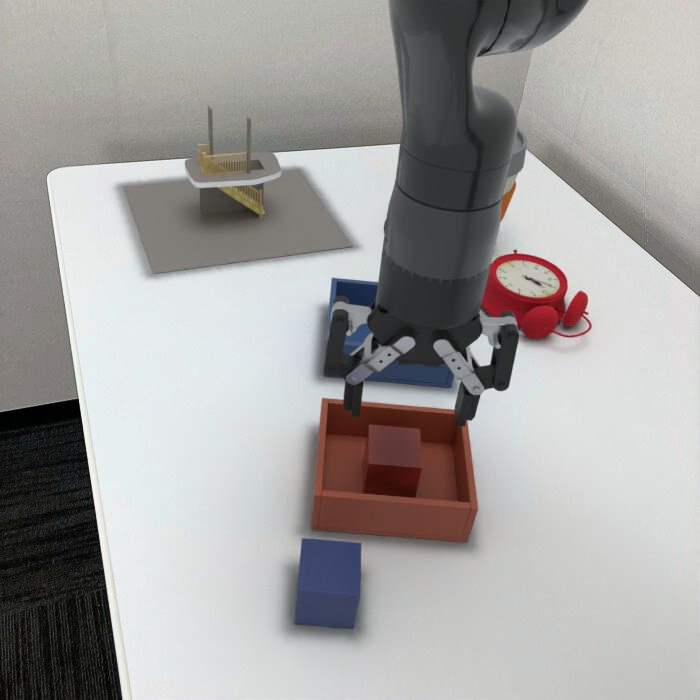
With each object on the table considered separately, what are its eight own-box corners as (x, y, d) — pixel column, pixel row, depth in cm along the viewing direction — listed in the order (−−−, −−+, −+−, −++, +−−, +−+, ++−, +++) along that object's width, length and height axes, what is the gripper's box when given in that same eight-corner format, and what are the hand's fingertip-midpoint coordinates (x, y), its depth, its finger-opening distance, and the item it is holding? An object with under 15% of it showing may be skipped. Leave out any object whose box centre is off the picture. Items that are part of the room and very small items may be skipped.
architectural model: (352, 246, 98) (364, 142, 89) (153, 273, 89) (143, 161, 80) (299, 168, 112) (304, 72, 103) (122, 186, 104) (112, 83, 95)
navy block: (355, 576, 61) (361, 542, 58) (354, 628, 58) (360, 595, 55) (298, 572, 61) (301, 537, 58) (293, 624, 58) (297, 590, 55)
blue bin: (444, 320, 88) (451, 288, 85) (451, 388, 79) (459, 354, 76) (328, 309, 87) (331, 277, 84) (323, 376, 79) (326, 342, 76)
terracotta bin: (457, 444, 73) (466, 410, 70) (467, 542, 65) (478, 508, 62) (318, 431, 73) (322, 397, 70) (310, 529, 64) (314, 494, 61)
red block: (412, 462, 70) (420, 428, 67) (414, 502, 67) (422, 467, 64) (363, 458, 70) (368, 424, 67) (362, 497, 67) (368, 463, 64)
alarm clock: (522, 240, 96) (621, 280, 85) (518, 286, 99) (613, 330, 88) (458, 260, 91) (554, 306, 80) (456, 308, 94) (548, 358, 83)
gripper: (331, 265, 50) (317, 440, 60) (550, 285, 50) (499, 455, 60) (337, 208, 55) (323, 377, 66) (533, 225, 56) (489, 391, 66)
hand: (407, 414), depth 63 cm, fingers open, 8 cm apart
